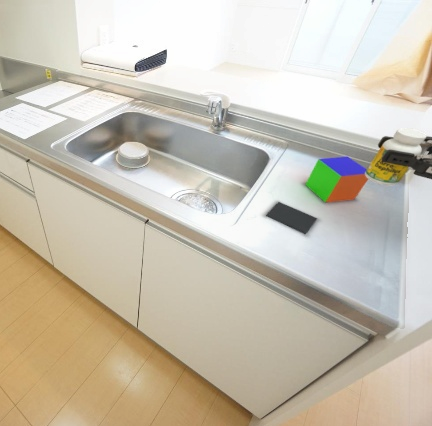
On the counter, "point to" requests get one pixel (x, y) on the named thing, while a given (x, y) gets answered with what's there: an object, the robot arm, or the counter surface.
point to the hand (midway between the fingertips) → (382, 148)
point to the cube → (337, 179)
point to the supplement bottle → (402, 142)
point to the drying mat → (291, 217)
